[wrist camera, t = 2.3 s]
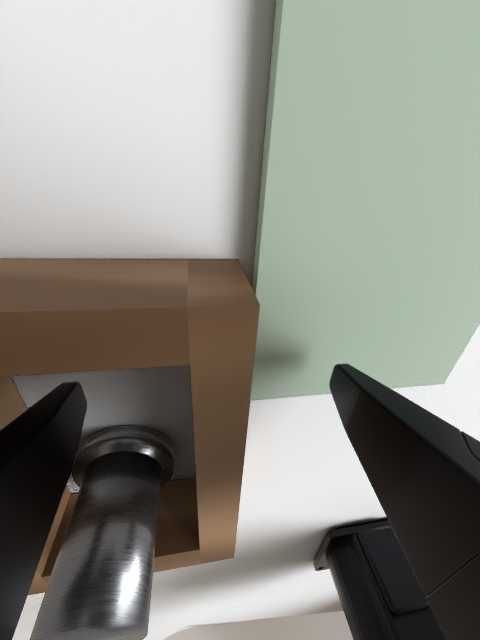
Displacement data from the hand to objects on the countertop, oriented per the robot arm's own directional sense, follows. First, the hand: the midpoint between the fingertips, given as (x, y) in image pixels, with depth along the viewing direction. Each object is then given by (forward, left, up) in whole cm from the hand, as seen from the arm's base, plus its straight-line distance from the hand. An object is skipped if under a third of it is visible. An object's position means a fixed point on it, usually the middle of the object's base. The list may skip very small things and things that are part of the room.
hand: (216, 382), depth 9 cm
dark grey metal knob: (-5, +4, -2) cm, 7 cm away
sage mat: (+5, -6, -2) cm, 7 cm away
